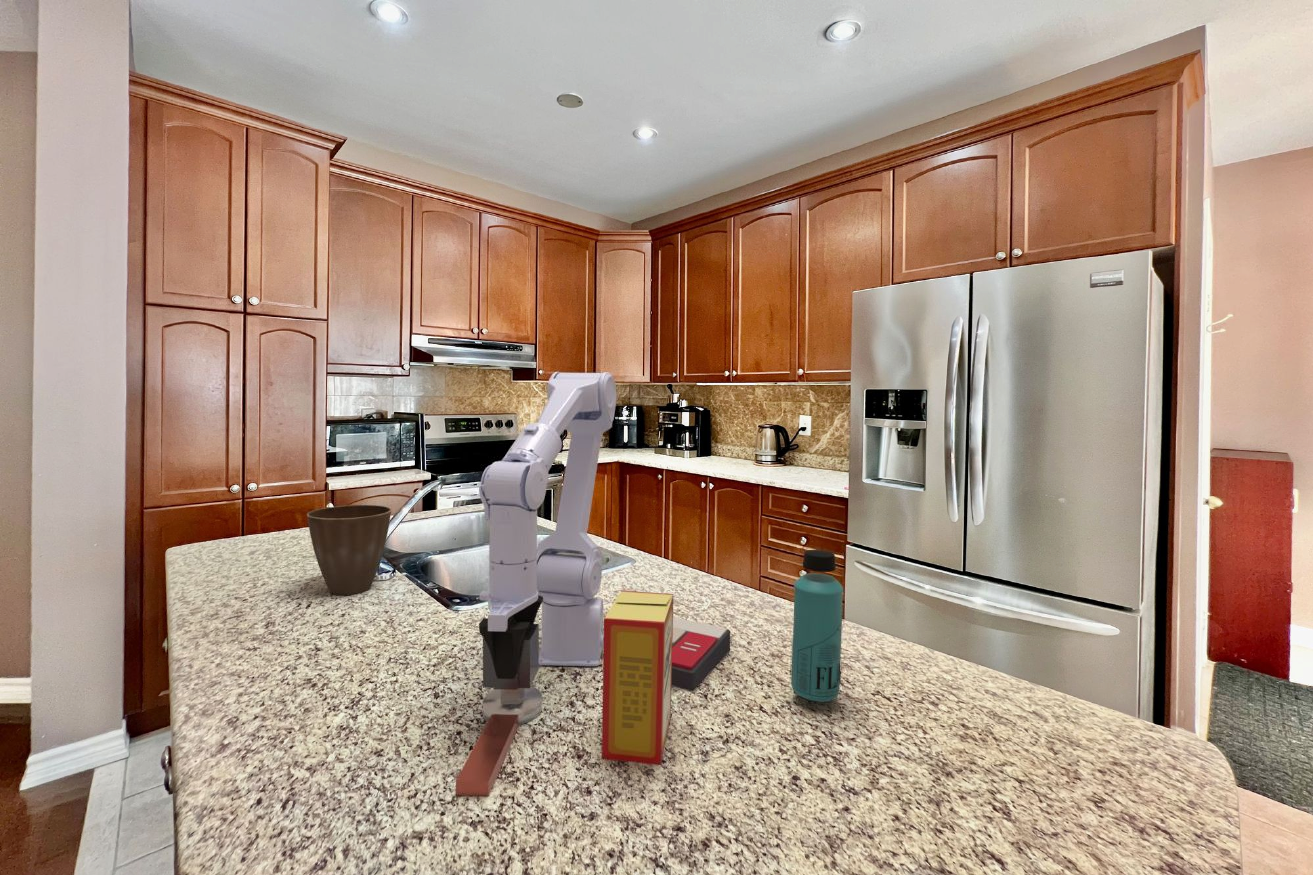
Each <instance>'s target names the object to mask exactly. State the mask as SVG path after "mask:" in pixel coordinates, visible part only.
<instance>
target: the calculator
mask: <svg viewBox="0 0 1313 875" xmlns="http://www.w3.org/2000/svg"><path fill="white" fill-rule="evenodd" d="M730 651H731V630H730V629H728V628H726V627H722V626H717V625H713V624H709V623H703V622H699V621H694V620H689V619H686V618H680V617H674V616H673V640H672V684H671V687H672V686H673V687H676V688H680V689H684V690H688V691H690V692H693V691H695V690H696V689H697V688H698V687H699V686H700V684H701V683H702V682H703V681H704V680H705V679H706V678H707V677H708V676H709V674H710V673H711V672H712V671H713V669H715V667H716V666H717V664H718V663H720V661H722V660H724V659H725V657H726V656H727V655H728V654H729V652H730Z"/></svg>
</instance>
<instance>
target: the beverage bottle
mask: <svg viewBox="0 0 1313 875" xmlns="http://www.w3.org/2000/svg"><path fill="white" fill-rule="evenodd" d="M802 560H803V561H802V567H803V568H804V569H806V570H808V571H812V572H811V573H804V574H802V575H801V576H800V577H799V578H797V580H795V581H794V584H793V588H794V592H793V594H794V596H793V597H794V598H793V623H792V624H793V628H792V630H793V631H792V641H790V642H791V644H790V645H791V647H790V651H791V659H790V662H791V665H790V672H789V673H790V675H789V676H790V677H789V678H790V679H789V680H790V683H791V688H792V690H793V692H794V693H795V694H796V695H798V696H799V697H800V698H803V699H806V700H809V701H813V702H831V701H834V700H835V699H837V697H839V693H840V692H841V684H842V680H841V679H842V678H841V677H842V671H841V670H842V665H843V664H842V663H841V662H842V650H843V649H842V637H843V635H844V633H843V625H842V624H843V621H844V615H843V614H844V612H843V593H844V587H843V586H842V584H841V583H840V582H839V581H838V579H836V578H835V577H834V576H831V575H829V574H825V573H830V572H834V571H836V556H835V554H834V553H833V552H831V551H829V550H824V549H809V550H805V551H804V553H803V559H802ZM817 572H819V573H817Z"/></svg>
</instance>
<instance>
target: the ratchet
mask: <svg viewBox="0 0 1313 875" xmlns="http://www.w3.org/2000/svg"><path fill="white" fill-rule="evenodd" d="M542 709H543V694H542V692H541V691H540V690H539V689H537V688H536V687H534V686H532V685H531V687H530V688H518V690H504V689H493V690H492V691H490V692H489V693H487V694H486V695H485V697H483V700H482V717H483V719H484V721H485V722H486V724H485V726H484V728H483V730H482V731H481V733H480V735H479V737H478V739H477V741H476V743H475V745H474V746H473V748H472V750H471V752H470V754H469V756H468V758H467V759H466V762H465V763H464V765H463V766H462V769H461V770H460V773H459V774H458V776H457V778H456V780H455V796H467V797H468V796H470V797H473V796H474V797H476V796H478V797H480V796H481V797H489V796H490V793H491V791H492V789H493V787H494V784H495V782H496V780H497V777H498V775H499V773H500V770H501V767H502V765H503V764H504V761H505V758H506V757H507V754H508V752H509V749H510V747H511V745H512V742H513V741H514V738H515V736H516V733H517V731H518V729H519V726H522V725H524V724H527V723H529V722H531V721H533V720H535V719H536V718H537V717H538V716H539V715H540V714H541V712H542Z"/></svg>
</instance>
